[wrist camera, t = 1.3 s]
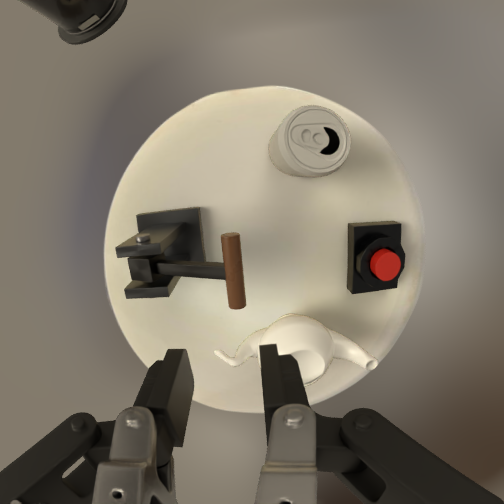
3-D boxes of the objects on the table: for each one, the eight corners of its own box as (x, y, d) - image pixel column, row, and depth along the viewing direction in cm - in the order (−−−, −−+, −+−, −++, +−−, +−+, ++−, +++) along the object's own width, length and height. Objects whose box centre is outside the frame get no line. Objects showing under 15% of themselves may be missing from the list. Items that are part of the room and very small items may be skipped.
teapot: (218, 295, 37) (211, 331, 29) (361, 299, 38) (388, 332, 29) (217, 353, 40) (212, 396, 31) (347, 354, 41) (367, 392, 32)
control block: (347, 223, 35) (359, 229, 31) (393, 220, 35) (408, 226, 31) (346, 288, 38) (356, 300, 34) (390, 282, 38) (403, 292, 34)
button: (370, 249, 33) (376, 253, 31) (395, 247, 33) (401, 251, 31) (369, 277, 34) (374, 282, 32) (393, 274, 34) (399, 279, 32)
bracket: (199, 206, 34) (177, 223, 23) (206, 268, 36) (191, 311, 25) (139, 213, 34) (95, 233, 23) (148, 273, 36) (114, 313, 25)
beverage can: (315, 180, 34) (349, 184, 22) (263, 170, 33) (273, 168, 22) (323, 131, 32) (360, 113, 21) (272, 120, 32) (286, 93, 20)
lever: (244, 230, 23) (232, 238, 20) (250, 300, 24) (240, 313, 22) (140, 232, 27) (123, 238, 24) (150, 289, 28) (135, 298, 26)
